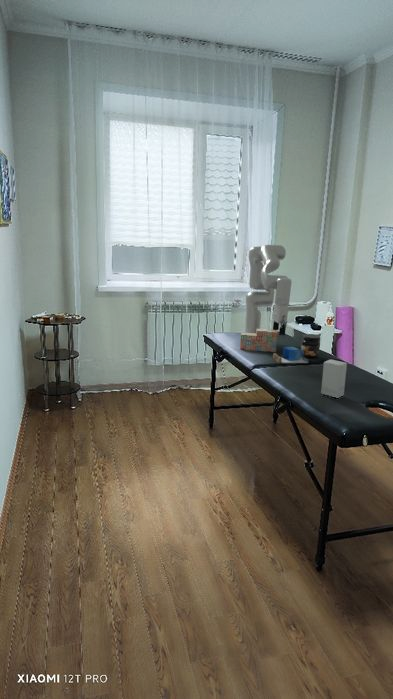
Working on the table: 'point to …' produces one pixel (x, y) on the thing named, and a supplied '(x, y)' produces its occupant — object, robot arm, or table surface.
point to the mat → (301, 360)
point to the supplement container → (310, 345)
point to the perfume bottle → (292, 353)
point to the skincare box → (333, 378)
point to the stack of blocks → (259, 340)
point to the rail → (277, 358)
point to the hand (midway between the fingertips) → (278, 332)
